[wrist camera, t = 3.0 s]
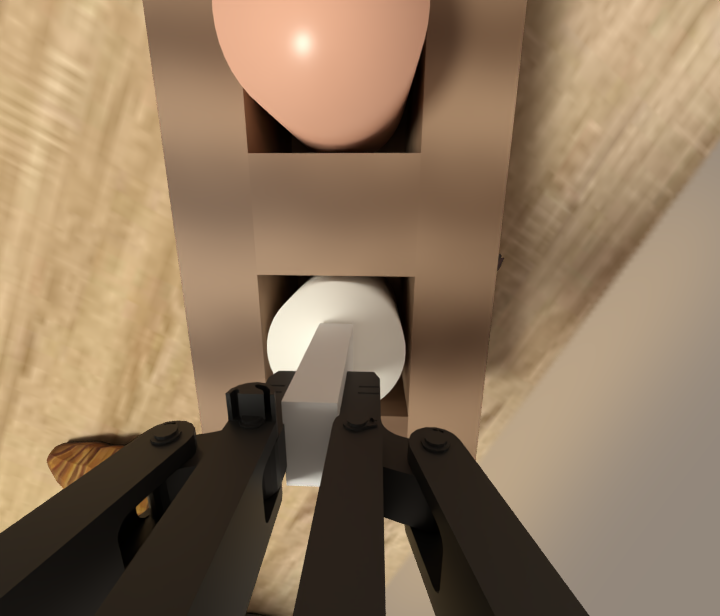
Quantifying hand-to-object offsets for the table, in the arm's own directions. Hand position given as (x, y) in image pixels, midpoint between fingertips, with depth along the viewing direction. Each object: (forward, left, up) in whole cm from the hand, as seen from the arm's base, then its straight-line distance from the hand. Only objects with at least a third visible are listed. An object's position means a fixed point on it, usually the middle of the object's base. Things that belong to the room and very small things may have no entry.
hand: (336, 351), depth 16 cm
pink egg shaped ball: (+12, 0, -6) cm, 13 cm away
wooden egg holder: (+6, 0, -10) cm, 11 cm away
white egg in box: (0, 0, -8) cm, 8 cm away
